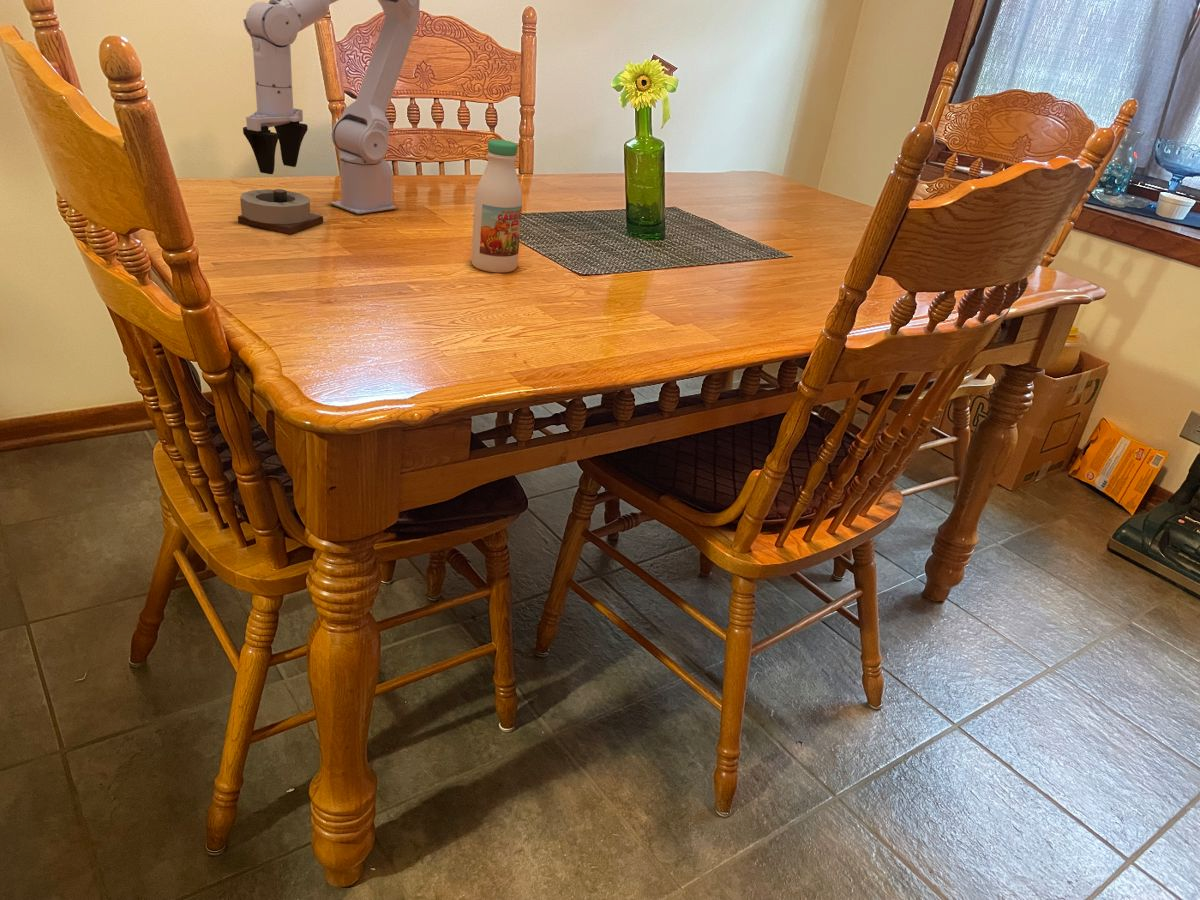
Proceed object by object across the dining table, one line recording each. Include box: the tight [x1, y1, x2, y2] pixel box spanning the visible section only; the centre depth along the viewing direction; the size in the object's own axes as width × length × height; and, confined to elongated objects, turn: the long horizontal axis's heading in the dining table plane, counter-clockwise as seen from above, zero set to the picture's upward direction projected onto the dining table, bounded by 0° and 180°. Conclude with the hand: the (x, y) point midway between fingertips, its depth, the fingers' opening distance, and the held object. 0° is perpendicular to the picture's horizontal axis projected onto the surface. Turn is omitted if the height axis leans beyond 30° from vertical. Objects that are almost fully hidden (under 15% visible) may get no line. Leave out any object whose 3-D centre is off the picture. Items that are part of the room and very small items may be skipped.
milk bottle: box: [470, 139, 523, 273], centre depth 133 cm, size 8×8×20 cm
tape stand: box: [237, 188, 324, 235], centre depth 142 cm, size 10×10×6 cm
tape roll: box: [240, 188, 311, 224], centre depth 142 cm, size 11×11×3 cm
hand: (278, 169), depth 143 cm, fingers open, 7 cm apart
